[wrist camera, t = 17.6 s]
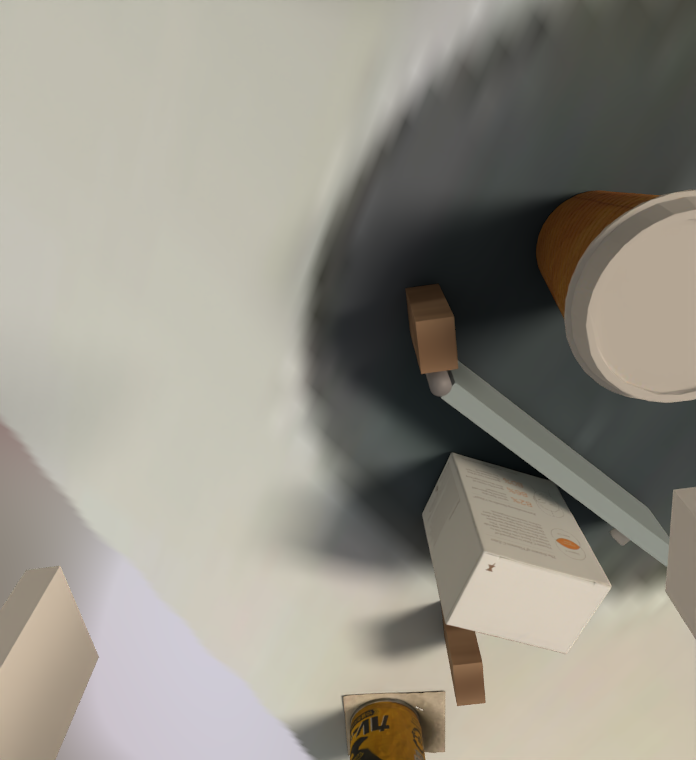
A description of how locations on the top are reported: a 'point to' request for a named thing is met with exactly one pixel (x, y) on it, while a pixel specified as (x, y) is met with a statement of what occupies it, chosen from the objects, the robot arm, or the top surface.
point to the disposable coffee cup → (627, 289)
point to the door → (551, 458)
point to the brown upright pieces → (434, 354)
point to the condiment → (394, 725)
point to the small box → (510, 556)
